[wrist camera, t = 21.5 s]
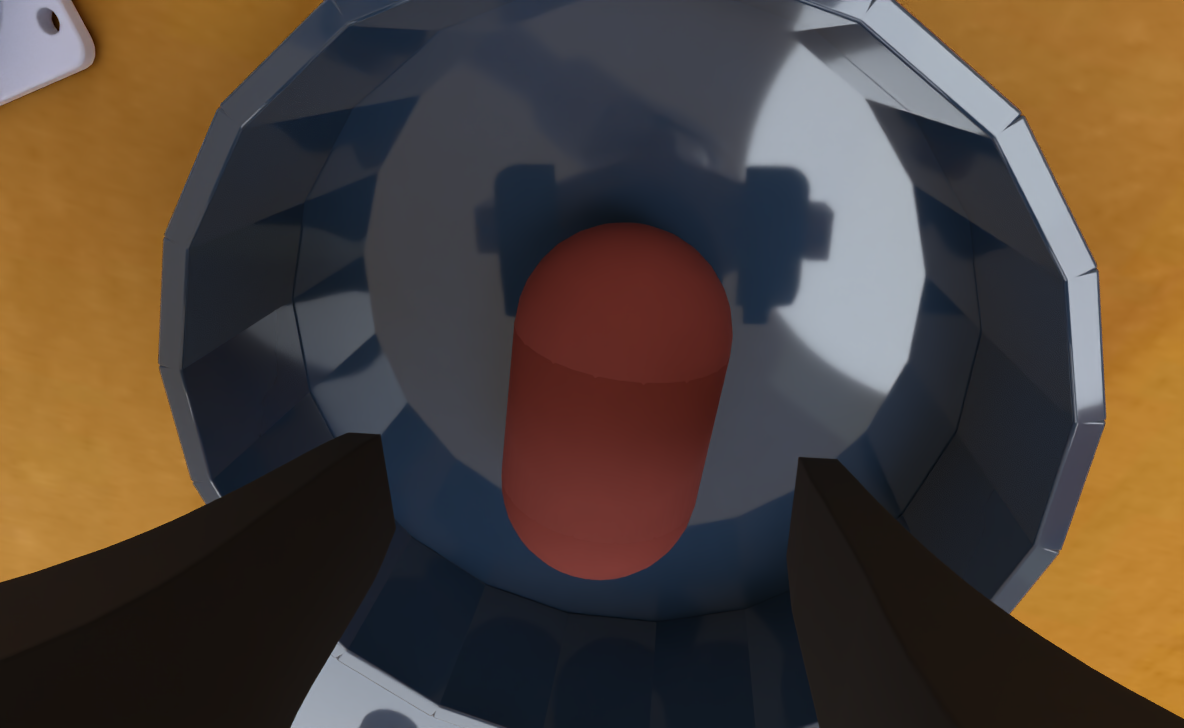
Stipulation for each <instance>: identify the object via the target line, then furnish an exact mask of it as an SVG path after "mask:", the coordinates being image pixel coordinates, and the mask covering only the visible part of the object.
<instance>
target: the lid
mask: <svg viewBox="0 0 1184 728" xmlns="http://www.w3.org/2000/svg"><path fill="white" fill-rule="evenodd" d="M291 728H462V727H459V726H456V725H454V724H451V723H448V722H445V721H442V720H439V719H436V718H434V717H433V716H429V715H428V714H426V713H424V712H423V711H421V710H419V709H418V708H416V707H414V706H413V705H411V704H409V703H408V702H406V701H404V700H403V699H401V698H399V697H398V696H396V695H394V694H393V693H391V692H389V691H388V690H386V689H384V688H383V687H381V686H379V685H378V684H376V683H374V682H373V681H371V680H369V679H368V678H366V677H364V676H363V675H361V674H359V673H358V672H356V671H354V670H353V669H351V668H349V667H348V666H346V665H344V664H343V663H341V662H339V661H338V660H337V658H334V657H333V656H332V655H330V657H329V658H328V660H327V662H326V663H325V665H324V667H323V668H322V670H321V672H320V673H319V675H318V677H317V678H316V680H315V682H314V683H313V685H312V687H311V689H310V690H309V692H308V694H307V696H306V698H305V700H304V702H303V703H302V705H301V707H300V709H299V711H298V713H297V715H296V717H295V719H294V721H293V723H292V725H291Z"/></svg>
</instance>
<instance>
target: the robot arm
mask: <svg viewBox="0 0 1184 728" xmlns="http://www.w3.org/2000/svg"><path fill="white" fill-rule="evenodd" d="M52 12H54V13H55V14H56V15H57V17H58V20H59V23H60V27H59V31H58V30H57V29H56V28H55V26H54V24H53V21H52ZM94 58H95V46H94V43H93V40H92V38H91V36H90V34H89V32H88V30H87V28H86V26H85V25H84V23H83V21H82V19H81V17H80V15H79V14H78V12H77V10H76V8H75V6H74V4H73V2H72V1H71V0H0V106H1V105H4V104H6V103H8V102H11V101H13V100H15V99H18V98H20V97H22V96H24V95H27V94H29V93H31V92H34V91H36V90H38V89H40V88H43V87H45V86H47V85H50V84H52V83H54V82H57V81H59V80H61V79H63V78H66V77H68V76H70V75H73V74H75V73H77V72H79V71H82V70H84V69H86V68H88V67H89V66H90V65H92V64H93V61H94ZM395 530H396V525H395V518H394V512H393V506H392V500H391V494H390V488H389V482H388V476H387V470H386V464H385V458H384V452H383V446H382V440H381V434H368V433H350V432H348V433H346V434H343V435H341V436H338V437H336V438H334V439H332V440H330V441H328V442H326V443H323V444H322V445H320V446H318V447H316V448H314V449H312V450H310V451H308V452H306V453H304V454H302V455H301V456H299V457H297V458H295V459H293V460H291V461H289V462H288V463H286V464H284V465H282V466H280V467H278V468H276V469H274V470H273V471H271V472H269V473H267V474H265V475H263V476H261V477H260V478H258V479H256V480H254V481H252V482H250V483H248V484H246V485H245V486H243V487H241V488H239V489H237V490H234V491H232V492H230V493H228V494H226V495H224V496H222V497H220V498H218V499H216V500H214V501H212V502H210V503H208V504H206V505H204V506H202V507H200V508H198V509H196V510H194V511H192V512H190V513H188V514H186V515H184V516H181V517H179V518H177V519H175V520H173V521H170V522H168V523H166V524H164V525H161V526H159V527H157V528H154V529H152V530H149V531H147V532H145V533H142V534H140V535H137V536H135V537H132V538H130V539H127V540H125V541H122V542H120V543H117V544H115V545H112V546H110V547H107V548H104V549H101V550H98V551H96V552H93V553H90V554H87V555H84V556H81V557H78V558H75V559H72V560H69V561H66V562H64V563H61V564H58V565H55V566H52V567H49V568H46V569H43V570H40V571H37V572H34V573H31V574H28V575H25V576H21V577H18V578H14V579H11V580H8V581H4V582H1V583H0V728H291V725H292V723H293V721H294V719H295V717H296V715H297V713H298V711H299V709H300V707H301V705H302V703H303V702H304V700H305V698H306V696H307V694H308V692H309V690H310V689H311V687H312V685H313V683H314V682H315V680H316V678H317V677H318V675H319V673H320V672H321V670H322V668H323V667H324V665H325V663H326V662H327V660H328V658H329V657H330V655H331V653H332V652H333V650H334V648H335V647H336V645H337V643H338V641H339V640H340V638H341V636H342V635H343V633H344V631H345V630H346V628H347V626H348V625H349V623H350V621H351V620H352V618H353V616H354V615H355V613H356V611H357V609H358V608H359V606H360V604H361V603H362V601H363V599H364V597H365V596H366V594H367V592H368V591H369V589H370V587H371V585H372V584H373V582H374V580H375V578H376V576H377V574H378V572H379V569H380V567H381V565H382V562H383V560H384V558H385V555H386V553H387V550H388V548H389V545H390V543H391V540H392V538H393V535H394V533H395ZM786 558H787V569H788V579H789V589H790V598H791V606H792V613H793V618H794V622H795V627H796V631H797V635H798V640H799V644H800V648H801V652H802V657H803V661H804V665H805V669H806V673H807V678H808V682H809V686H810V690H811V694H812V699H813V703H814V707H815V711H816V715H817V720H818V724H819V728H1184V719H1183V718H1181V717H1179V716H1177V715H1176V714H1174V713H1172V712H1170V711H1168V710H1166V709H1164V708H1163V707H1161V706H1159V705H1157V704H1155V703H1153V702H1151V701H1150V700H1148V699H1146V698H1144V697H1142V696H1140V695H1138V694H1137V693H1135V692H1133V691H1131V690H1129V689H1127V688H1126V687H1124V686H1122V685H1120V684H1119V683H1117V682H1115V681H1113V680H1112V679H1110V678H1108V677H1106V676H1105V675H1103V674H1101V673H1100V672H1098V671H1096V670H1094V669H1093V668H1091V667H1089V666H1088V665H1086V664H1085V663H1083V662H1081V661H1080V660H1078V659H1077V658H1075V657H1073V656H1072V655H1070V654H1069V653H1067V652H1065V651H1064V650H1062V649H1061V648H1059V647H1057V646H1056V645H1054V644H1053V643H1051V642H1050V641H1048V640H1046V639H1045V638H1043V637H1042V636H1040V635H1039V634H1037V633H1036V632H1034V631H1033V630H1031V629H1030V628H1028V627H1027V626H1025V625H1024V624H1022V623H1021V622H1019V621H1018V620H1017V619H1015V618H1014V617H1012V616H1011V615H1010V614H1008V613H1007V612H1006V611H1004V610H1003V609H1002V608H1000V607H999V606H997V605H996V604H995V603H993V602H992V601H991V600H989V599H988V598H987V597H985V596H984V595H982V594H981V593H980V592H978V591H977V590H976V589H975V588H973V587H972V586H971V585H969V584H968V583H967V582H966V581H964V580H963V579H962V578H961V577H959V576H958V575H957V574H956V573H955V572H954V571H952V570H951V569H950V568H949V567H948V566H947V565H945V564H944V563H943V562H942V561H941V560H940V559H938V558H937V557H936V556H935V555H934V554H933V553H931V552H930V551H929V550H928V549H927V548H926V547H925V546H924V545H922V544H921V543H920V542H919V541H918V540H917V539H916V538H915V537H914V536H913V535H912V534H910V533H909V532H908V531H907V530H906V529H905V528H904V527H903V526H902V525H901V524H900V523H899V522H898V521H897V520H896V519H895V518H894V517H893V516H892V515H891V514H890V513H889V512H888V511H887V510H886V509H885V508H884V507H883V506H882V505H881V504H880V503H879V502H878V501H877V500H876V499H875V498H874V497H873V496H872V495H871V494H870V493H869V492H868V491H867V490H866V489H865V488H864V486H863V485H862V484H861V483H860V482H859V481H858V480H857V479H856V478H855V477H854V476H853V475H852V474H851V473H850V472H849V471H848V470H847V468H846V467H845V466H844V465H843V464H842V463H841V462H840V461H839V460H838V459H828V458H809V457H799V458H798V466H797V474H796V482H795V490H794V498H793V507H792V515H791V523H790V531H789V539H788V547H787V555H786Z"/></svg>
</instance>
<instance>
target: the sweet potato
mask: <svg viewBox="0 0 1184 728" xmlns="http://www.w3.org/2000/svg"><path fill="white" fill-rule="evenodd" d="M732 337H733V333H732V320H731V309H730V305H729V302H728V299H727V296H726V293H725V289H724V287H723V286H722V284H721V282H720V280H719V279H718V277H717V275H716V273H715V272H714V270H713V268H712V267H711V265H710V264H709V263H708V262H707V261H706V260H705V259H704V257H703V256H702V255H701V254H700V253H699V252H698V251H697V250H696V249H695V248H694V247H692V246H691V245H689V244H688V243H686V242H685V241H683V240H682V239H681V238H679V237H678V236H676V235H674V234H672V233H670V232H667V231H665V230H662V229H659V228H656V227H653V226H650V225H646V224H640V223H628V222H627V223H607V224H602V225H598V226H595V227H592V228H589V229H585V230H582V231H580V232H578V233H576V234H574V235H572V236H571V237H569V238H567V239H566V240H564V241H562V242H560V243H559V244H557V245H556V246H555V247H554V248H553V249H552V250H551V251H550V252H549V253H548V254H547V255H545V256H544V257H543V259H542V260H541V261H540V262H539V264H538V265H537V266H536V268H535V269H534V271H533V272H532V273H531V275H530V276H529V278H528V279H527V281H526V284H525V286H524V288H523V291H522V293H521V295H520V298H519V303H518V308H517V313H516V318H515V322H514V332H513V344H512V356H511V368H510V379H509V391H508V403H507V415H506V426H505V438H504V450H503V461H502V494H503V499H504V504H505V507H506V511H507V514H508V518H509V520H510V522H511V524H512V526H513V527H514V529H515V531H516V533H517V534H518V536H519V537H520V539H521V541H522V542H523V543H524V544H525V545H526V547H527V548H528V549H529V550H530V551H531V552H532V553H534V554H535V555H536V556H537V557H538V558H540V559H541V560H542V561H543V562H545V563H546V564H547V565H549V566H550V567H552V568H554V569H556V570H558V571H560V572H562V573H565V574H568V575H570V576H574V577H579V578H583V579H591V580H610V579H617V578H621V577H626V576H628V575H631V574H634V573H636V572H639V571H641V570H643V569H646V568H648V567H649V566H651V565H652V564H654V563H655V562H656V561H658V560H659V559H660V558H662V557H663V556H664V555H665V554H666V553H668V552H669V551H670V550H671V548H672V547H673V546H674V545H675V544H676V542H677V541H678V540H679V538H680V537H681V535H682V534H683V532H684V531H685V529H686V527H687V525H688V522H689V520H690V517H691V514H692V512H693V509H694V507H695V504H696V499H697V494H698V490H699V486H700V482H701V477H702V473H703V469H704V465H705V460H706V456H707V452H708V448H709V443H710V439H711V435H712V431H713V426H714V422H715V418H716V414H717V409H718V405H719V401H720V397H721V392H722V388H723V384H724V380H725V375H726V371H727V367H728V363H729V358H730V354H731V346H732Z"/></svg>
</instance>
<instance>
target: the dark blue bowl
mask: <svg viewBox="0 0 1184 728" xmlns="http://www.w3.org/2000/svg"><path fill="white" fill-rule="evenodd" d="M627 222H628V223H640V224H646V225H650V226H653V227H656V228H659V229H662V230H665V231H667V232H670V233H672V234H674V235H676V236H678V237H679V238H681V239H682V240H683V241H685V242H686V243H688V244H689V245H691V246H692V247H694V248H695V249H696V250H697V251H698V252H699V253H700V254H701V255H702V256H703V257H704V259H705V260H706V261H707V262H708V263H709V264H710V265H711V267H712V268H713V270H714V272H715V273H716V275H717V277H718V279H719V280H720V282H721V284H722V286H723V287H724V289H725V293H726V296H727V299H728V302H729V305H730V309H731V320H732V333H733V337H732V346H731V354H730V358H729V363H728V367H727V371H726V375H725V380H724V384H723V388H722V392H721V397H720V401H719V405H718V409H717V414H716V418H715V422H714V426H713V431H712V435H711V439H710V443H709V448H708V452H707V456H706V460H705V465H704V469H703V473H702V477H701V482H700V486H699V490H698V494H697V499H696V504H695V507H694V509H693V512H692V514H691V517H690V520H689V522H688V525H687V527H686V529H685V531H684V532H683V534H682V535H681V537H680V538H679V540H678V541H677V542H676V544H675V545H674V546H673V547H672V548H671V550H670V551H669V552H668V553H666V554H665V555H664V556H663V557H662V558H660V559H659V560H658V561H656V562H655V563H654V564H652V565H651V566H649V567H648V568H646V569H643V570H641V571H639V572H636V573H634V574H631V575H628V576H626V577H621V578H617V579H610V580H591V579H583V578H579V577H574V576H570V575H568V574H565V573H562V572H560V571H558V570H556V569H554V568H552V567H550V566H549V565H547V564H546V563H545V562H543V561H542V560H541V559H540V558H538V557H537V556H536V555H535V554H534V553H532V552H531V551H530V550H529V549H528V548H527V547H526V545H525V544H524V543H523V542H522V541H521V539H520V537H519V536H518V534H517V533H516V531H515V529H514V527H513V526H512V524H511V522H510V520H509V518H508V514H507V511H506V507H505V504H504V499H503V494H502V461H503V450H504V438H505V426H506V415H507V403H508V391H509V379H510V368H511V356H512V344H513V332H514V322H515V318H516V313H517V308H518V303H519V298H520V295H521V293H522V291H523V288H524V286H525V284H526V281H527V279H528V278H529V276H530V275H531V273H532V272H533V271H534V269H535V268H536V266H537V265H538V264H539V262H540V261H541V260H542V259H543V257H544V256H545V255H547V254H548V253H549V252H550V251H551V250H552V249H553V248H554V247H555V246H556V245H557V244H559V243H560V242H562V241H564V240H566V239H567V238H569V237H571V236H572V235H574V234H576V233H578V232H580V231H582V230H585V229H589V228H592V227H595V226H598V225H602V224H607V223H627ZM164 236H165V237H164V239H163V256H162V281H161V305H160V330H159V355H158V364H159V365H160V366H159V370H160V374H161V377H162V381H163V384H164V388H165V391H166V395H167V398H168V401H169V405H170V408H171V412H172V415H173V419H174V422H175V426H176V429H177V433H178V436H179V440H180V443H181V447H182V450H183V454H184V457H185V460H186V464H187V467H188V471H189V474H190V478H191V480H192V481H193V485H194V486H195V488H196V490H197V491H198V493H199V494H200V496H201V498H202V499H203V501H204V502H205V504H208V503H210V502H212V501H214V500H216V499H218V498H220V497H222V496H224V495H226V494H228V493H230V492H232V491H234V490H237V489H239V488H241V487H243V486H245V485H246V484H248V483H250V482H252V481H254V480H256V479H258V478H260V477H261V476H263V475H265V474H267V473H269V472H271V471H273V470H274V469H276V468H278V467H280V466H282V465H284V464H286V463H288V462H289V461H291V460H293V459H295V458H297V457H299V456H301V455H302V454H304V453H306V452H308V451H310V450H312V449H314V448H316V447H318V446H320V445H322V444H323V443H326V442H328V441H330V440H332V439H334V438H336V437H338V436H341V435H343V434H346V433H348V432H350V433H368V434H381V440H382V446H383V452H384V458H385V464H386V470H387V476H388V482H389V488H390V494H391V500H392V506H393V512H394V518H395V525H396V530H395V533H394V535H393V538H392V540H391V543H390V545H389V548H388V550H387V553H386V555H385V558H384V560H383V562H382V565H381V567H380V569H379V572H378V574H377V576H376V578H375V580H374V582H373V584H372V585H371V587H370V589H369V591H368V592H367V594H366V596H365V597H364V599H363V601H362V603H361V604H360V606H359V608H358V609H357V611H356V613H355V615H354V616H353V618H352V620H351V621H350V623H349V625H348V626H347V628H346V630H345V631H344V633H343V635H342V636H341V638H340V640H339V641H338V643H337V645H336V647H335V648H334V650H333V652H332V653H331V655H332V656H333V657H334V658H337V660H338V661H339V662H341V663H343V664H344V665H346V666H348V667H349V668H351V669H353V670H354V671H356V672H358V673H359V674H361V675H363V676H364V677H366V678H368V679H369V680H371V681H373V682H374V683H376V684H378V685H379V686H381V687H383V688H384V689H386V690H388V691H389V692H391V693H393V694H394V695H396V696H398V697H399V698H401V699H403V700H404V701H406V702H408V703H409V704H411V705H413V706H414V707H416V708H418V709H419V710H421V711H423V712H424V713H426V714H428V715H429V716H433V717H434V718H436V719H439V720H442V721H445V722H448V723H451V724H454V725H456V726H459V727H462V728H819V724H818V720H817V715H816V711H815V707H814V703H813V699H812V694H811V690H810V686H809V682H808V678H807V673H806V669H805V665H804V661H803V657H802V652H801V648H800V644H799V640H798V635H797V631H796V627H795V622H794V618H793V613H792V606H791V598H790V589H789V579H788V569H787V558H786V555H787V547H788V539H789V531H790V523H791V515H792V507H793V498H794V490H795V482H796V474H797V466H798V458H799V457H809V458H828V459H838V460H839V461H840V462H841V463H842V464H843V465H844V466H845V467H846V468H847V470H848V471H849V472H850V473H851V474H852V475H853V476H854V477H855V478H856V479H857V480H858V481H859V482H860V483H861V484H862V485H863V486H864V488H865V489H866V490H867V491H868V492H869V493H870V494H871V495H872V496H873V497H874V498H875V499H876V500H877V501H878V502H879V503H880V504H881V505H882V506H883V507H884V508H885V509H886V510H887V511H888V512H889V513H890V514H891V515H892V516H893V517H894V518H895V519H896V520H897V521H898V522H899V523H900V524H901V525H902V526H903V527H904V528H905V529H906V530H907V531H908V532H909V533H910V534H912V535H913V536H914V537H915V538H916V539H917V540H918V541H919V542H920V543H921V544H922V545H924V546H925V547H926V548H927V549H928V550H929V551H930V552H931V553H933V554H934V555H935V556H936V557H937V558H938V559H940V560H941V561H942V562H943V563H944V564H945V565H947V566H948V567H949V568H950V569H951V570H952V571H954V572H955V573H956V574H957V575H958V576H959V577H961V578H962V579H963V580H964V581H966V582H967V583H968V584H969V585H971V586H972V587H973V588H975V589H976V590H977V591H978V592H980V593H981V594H982V595H984V596H985V597H987V598H988V599H989V600H991V601H992V602H993V603H995V604H996V605H997V606H999V607H1000V608H1002V609H1003V610H1004V611H1006V612H1007V613H1008V614H1010V613H1011V612H1012V611H1013V609H1014V608H1015V607H1016V606H1017V605H1018V603H1019V602H1020V601H1021V600H1022V598H1023V597H1024V596H1025V595H1026V593H1027V592H1028V591H1029V590H1030V589H1031V587H1032V586H1033V585H1034V584H1035V582H1036V581H1037V580H1038V579H1039V578H1040V576H1041V575H1042V574H1043V573H1044V571H1045V570H1046V569H1047V568H1048V567H1049V565H1050V564H1051V563H1052V562H1053V560H1054V559H1055V558H1056V557H1057V556H1058V554H1059V550H1061V549H1062V546H1063V544H1064V541H1065V538H1066V535H1067V532H1068V529H1069V526H1070V524H1071V521H1072V518H1073V515H1074V512H1075V509H1076V506H1077V504H1078V501H1079V498H1080V495H1081V492H1082V489H1083V486H1084V484H1085V481H1086V478H1087V475H1088V472H1089V469H1090V466H1091V464H1092V461H1093V458H1094V455H1095V452H1096V449H1097V446H1098V444H1099V441H1100V438H1101V435H1102V432H1103V429H1104V426H1105V420H1106V404H1105V384H1104V364H1103V344H1102V324H1101V305H1100V285H1099V271H1098V269H1097V263H1096V261H1095V259H1094V257H1093V255H1092V253H1091V251H1090V249H1089V247H1088V245H1087V243H1086V240H1085V238H1084V236H1083V234H1082V232H1081V230H1080V228H1079V226H1078V224H1077V222H1076V220H1075V218H1074V216H1073V214H1072V212H1071V210H1070V208H1069V205H1068V203H1067V201H1066V199H1065V197H1064V195H1063V193H1062V191H1061V189H1060V187H1059V185H1058V183H1057V181H1056V179H1055V177H1054V175H1053V173H1052V171H1051V168H1050V166H1049V164H1048V162H1047V160H1046V158H1045V156H1044V154H1043V152H1042V150H1041V148H1040V146H1039V144H1038V142H1037V140H1036V138H1035V136H1034V133H1033V131H1032V129H1031V127H1030V125H1029V123H1028V121H1027V119H1026V117H1025V116H1024V115H1022V113H1021V110H1020V109H1019V108H1017V107H1016V106H1015V105H1014V104H1013V103H1012V102H1011V101H1010V100H1008V99H1007V98H1006V97H1005V96H1004V95H1003V94H1002V93H1001V92H999V91H998V90H997V89H996V88H995V87H994V86H993V85H992V84H990V83H989V82H988V81H987V80H986V79H985V78H984V77H982V76H981V75H980V74H979V73H978V72H977V71H976V70H975V69H973V68H972V67H971V66H970V65H969V64H968V63H967V62H966V61H964V60H963V59H962V58H961V57H960V56H959V55H958V54H957V53H955V52H954V51H953V50H952V49H951V48H950V47H949V46H947V45H946V44H945V43H944V42H943V41H942V40H941V39H940V38H938V37H937V36H936V35H935V34H934V33H933V32H932V31H931V30H929V29H928V28H927V27H926V26H925V25H924V24H923V23H922V22H920V21H919V20H918V19H917V18H916V17H915V16H914V15H913V14H911V13H910V12H909V11H908V10H907V9H906V8H905V7H903V6H902V5H901V4H900V3H899V2H898V1H897V0H324V1H323V2H322V3H321V4H320V5H319V6H318V7H317V8H316V9H315V10H314V11H313V12H312V13H311V14H310V15H309V16H308V17H307V18H306V19H305V20H304V21H303V22H302V23H301V24H300V25H299V26H298V27H297V28H296V29H295V30H294V31H293V32H292V33H291V34H290V35H289V36H288V37H287V38H286V39H285V40H284V41H283V42H282V43H281V44H280V45H279V46H278V47H277V48H276V49H275V50H274V51H273V52H272V53H271V54H270V55H269V56H268V57H267V58H266V59H265V60H264V61H263V62H262V63H261V64H260V65H259V66H258V67H257V68H256V69H255V70H254V71H253V72H252V73H251V74H250V75H249V76H248V77H247V78H246V79H245V80H244V81H243V82H242V83H241V84H240V85H239V86H238V87H237V88H236V89H235V90H234V91H233V92H232V93H231V94H230V95H229V96H228V97H227V98H226V99H225V100H224V101H223V102H222V103H221V105H220V107H219V108H218V109H217V111H216V113H215V115H214V118H213V120H212V122H211V125H210V127H209V130H208V132H207V134H206V137H205V139H204V141H203V144H202V146H201V148H200V151H199V153H198V155H197V158H196V160H195V163H194V165H193V167H192V170H191V172H190V174H189V177H188V179H187V181H186V184H185V186H184V189H183V191H182V193H181V196H180V198H179V200H178V203H177V205H176V207H175V210H174V212H173V215H172V217H171V219H170V222H169V224H168V226H167V229H166V231H165V233H164Z"/></svg>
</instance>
